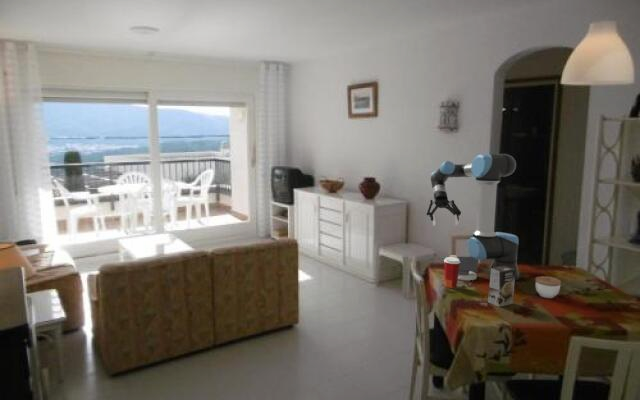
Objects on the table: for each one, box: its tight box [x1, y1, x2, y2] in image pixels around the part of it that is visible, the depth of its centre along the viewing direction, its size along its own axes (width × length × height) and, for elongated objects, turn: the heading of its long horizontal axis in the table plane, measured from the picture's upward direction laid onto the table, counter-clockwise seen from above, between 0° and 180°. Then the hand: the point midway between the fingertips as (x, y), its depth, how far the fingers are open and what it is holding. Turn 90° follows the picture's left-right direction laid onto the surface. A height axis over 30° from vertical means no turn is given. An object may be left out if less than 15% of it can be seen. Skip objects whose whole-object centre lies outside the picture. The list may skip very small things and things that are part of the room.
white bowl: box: [534, 275, 562, 299], centre depth 211 cm, size 11×11×9 cm
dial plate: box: [457, 271, 478, 282], centre depth 238 cm, size 14×14×2 cm
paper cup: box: [443, 256, 460, 289], centre depth 222 cm, size 8×8×14 cm
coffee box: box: [487, 266, 516, 307], centre depth 201 cm, size 9×6×16 cm
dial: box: [449, 254, 479, 275], centre depth 237 cm, size 14×6×9 cm, turn 90°
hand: (445, 225), depth 253 cm, fingers open, 12 cm apart
